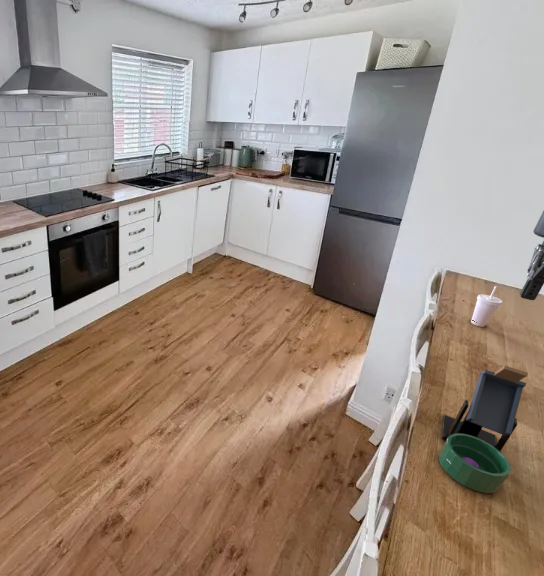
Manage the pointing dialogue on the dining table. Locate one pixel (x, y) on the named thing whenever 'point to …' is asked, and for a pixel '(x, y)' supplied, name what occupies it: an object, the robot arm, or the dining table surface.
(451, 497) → the dining table surface
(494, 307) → the smoothie
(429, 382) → the dining table surface
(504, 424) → the chute
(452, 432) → the stand
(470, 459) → the ball
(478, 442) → the bowl
